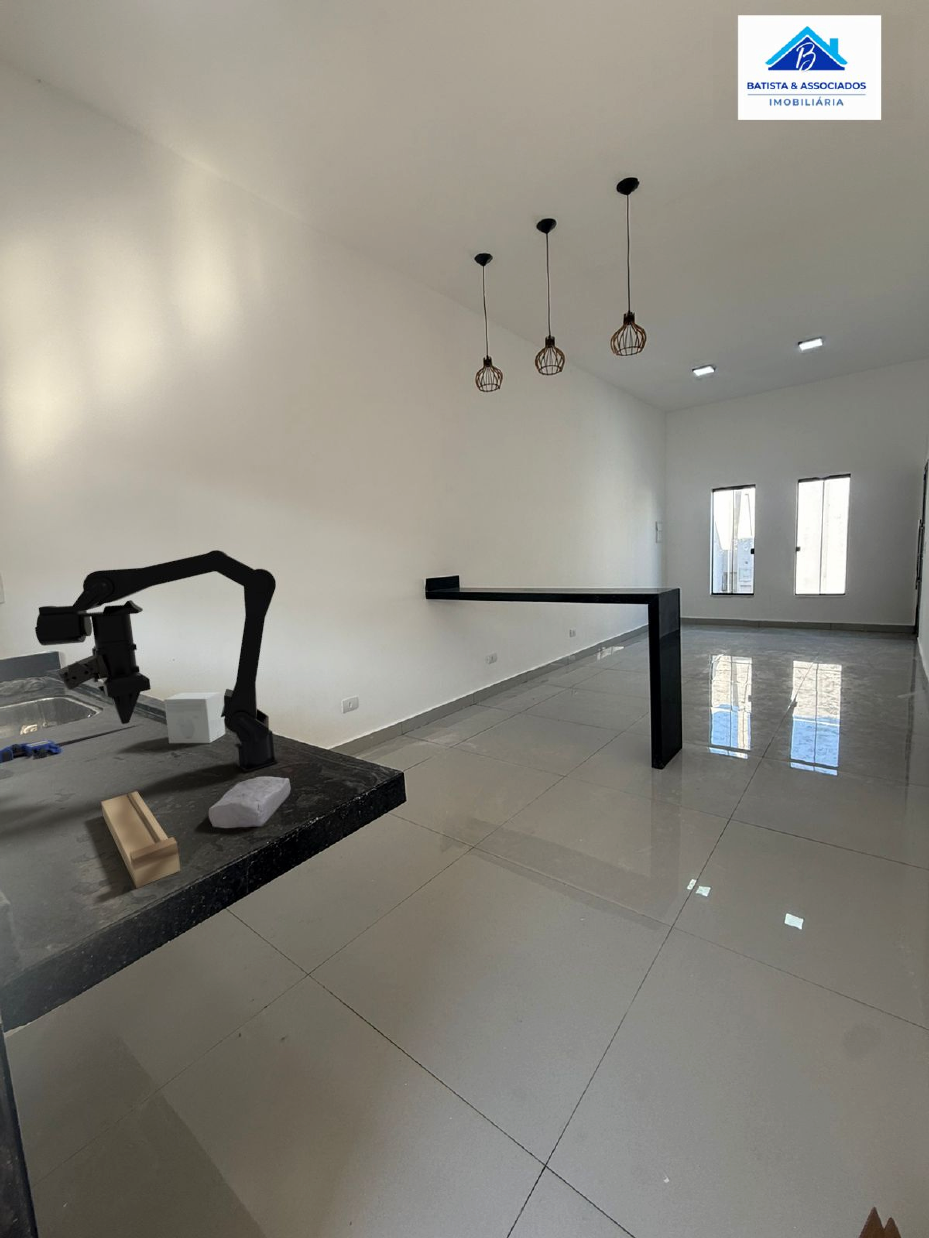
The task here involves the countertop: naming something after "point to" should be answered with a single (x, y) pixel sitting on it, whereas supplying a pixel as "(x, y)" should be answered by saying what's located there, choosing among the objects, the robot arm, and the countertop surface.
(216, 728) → the skincare box
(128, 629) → the robot arm
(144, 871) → the wooden grooved rail
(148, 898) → the countertop surface
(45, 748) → the bar clamp
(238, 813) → the stone block
